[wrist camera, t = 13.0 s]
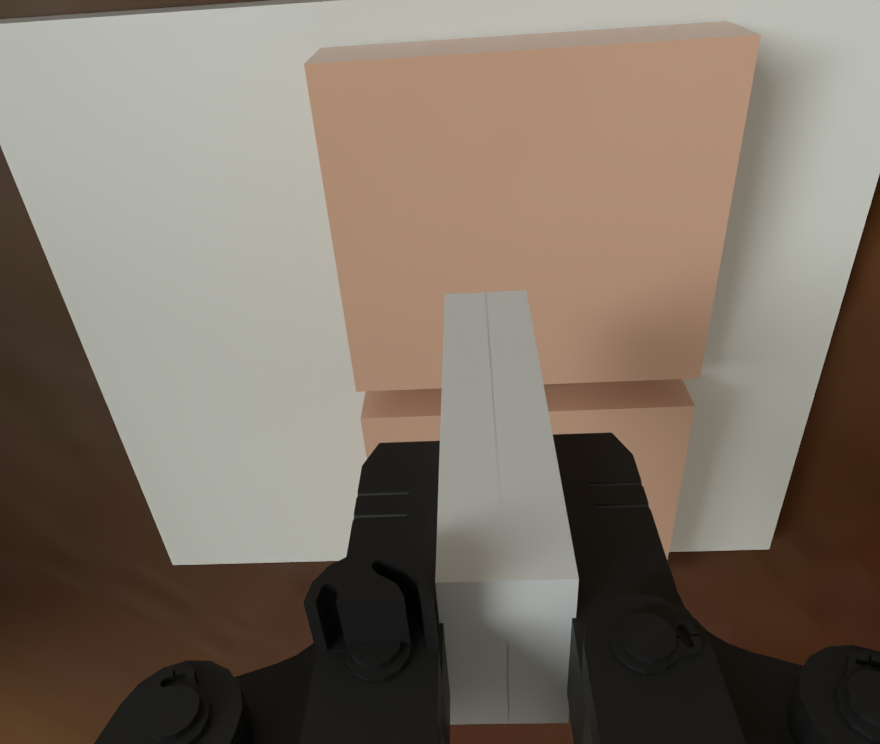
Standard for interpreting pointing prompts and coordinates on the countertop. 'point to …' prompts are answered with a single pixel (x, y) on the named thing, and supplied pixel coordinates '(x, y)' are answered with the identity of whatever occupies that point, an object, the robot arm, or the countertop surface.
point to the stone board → (313, 262)
